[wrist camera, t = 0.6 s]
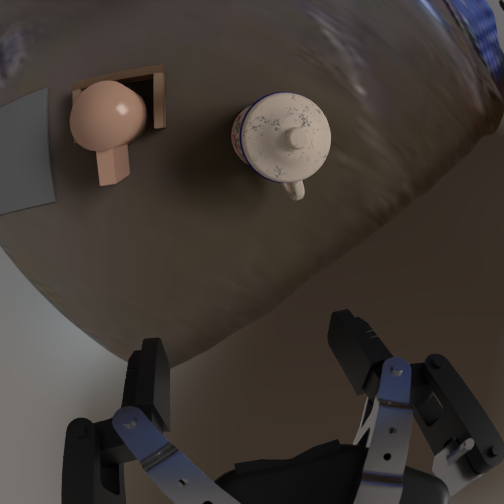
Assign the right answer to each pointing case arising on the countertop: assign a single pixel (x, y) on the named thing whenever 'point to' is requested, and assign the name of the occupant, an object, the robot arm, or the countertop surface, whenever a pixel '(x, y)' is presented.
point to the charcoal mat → (25, 154)
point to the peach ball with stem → (109, 126)
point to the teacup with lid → (282, 139)
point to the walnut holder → (134, 76)
